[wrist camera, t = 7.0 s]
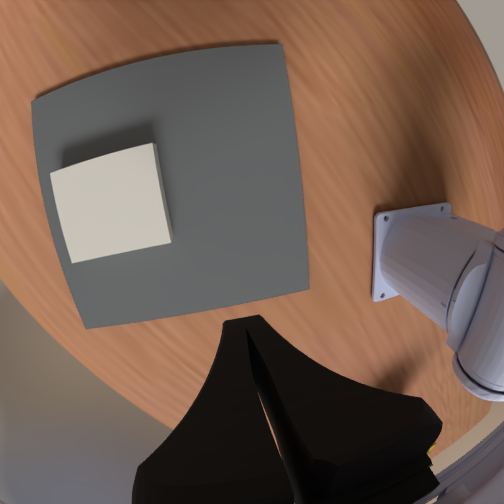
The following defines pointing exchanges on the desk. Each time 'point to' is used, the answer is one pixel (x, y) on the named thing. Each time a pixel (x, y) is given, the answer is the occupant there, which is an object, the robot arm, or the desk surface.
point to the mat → (187, 180)
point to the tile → (112, 204)
